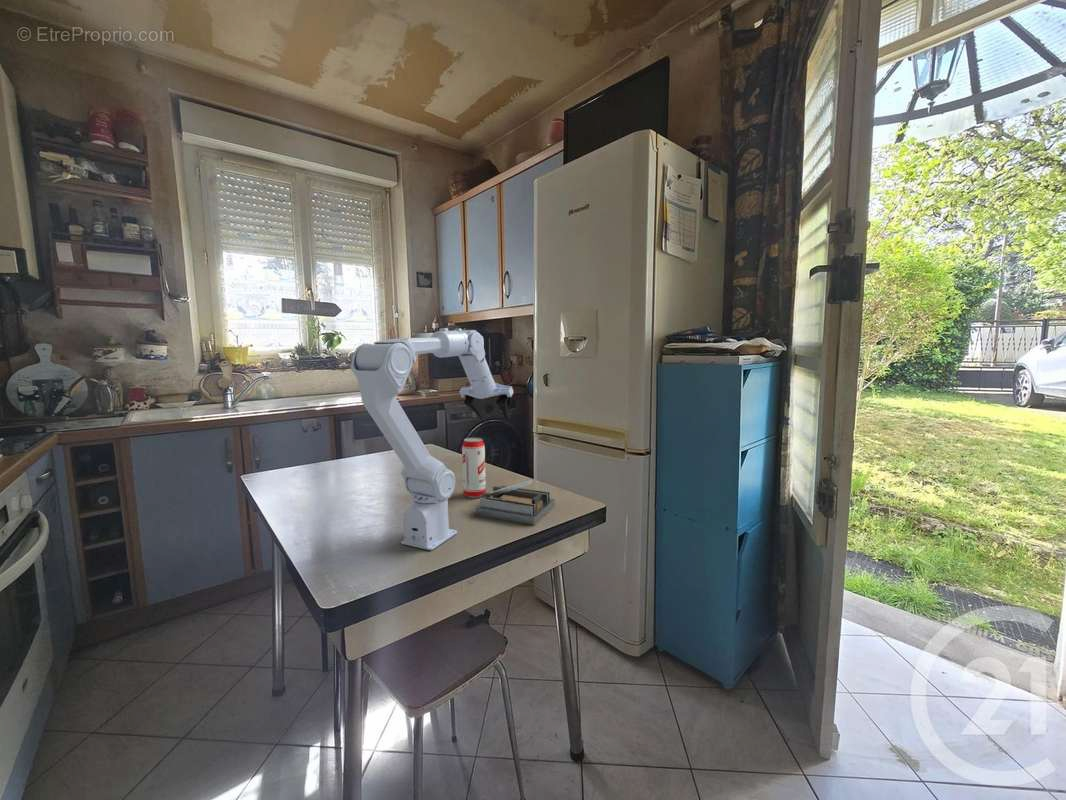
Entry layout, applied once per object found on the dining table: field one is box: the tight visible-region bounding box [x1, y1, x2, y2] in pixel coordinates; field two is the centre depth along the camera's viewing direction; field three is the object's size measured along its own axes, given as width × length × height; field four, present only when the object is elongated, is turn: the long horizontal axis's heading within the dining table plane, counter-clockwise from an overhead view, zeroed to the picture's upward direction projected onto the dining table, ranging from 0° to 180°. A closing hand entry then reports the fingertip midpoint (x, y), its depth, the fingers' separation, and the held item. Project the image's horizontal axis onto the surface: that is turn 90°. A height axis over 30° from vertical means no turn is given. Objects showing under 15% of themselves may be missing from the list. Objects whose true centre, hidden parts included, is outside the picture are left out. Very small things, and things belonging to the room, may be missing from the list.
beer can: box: [461, 437, 487, 499], centre depth 119 cm, size 6×6×16 cm
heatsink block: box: [474, 485, 556, 526], centre depth 108 cm, size 13×16×4 cm
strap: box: [489, 479, 534, 497], centre depth 108 cm, size 4×12×1 cm, turn 66°
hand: (496, 417), depth 113 cm, fingers open, 7 cm apart
